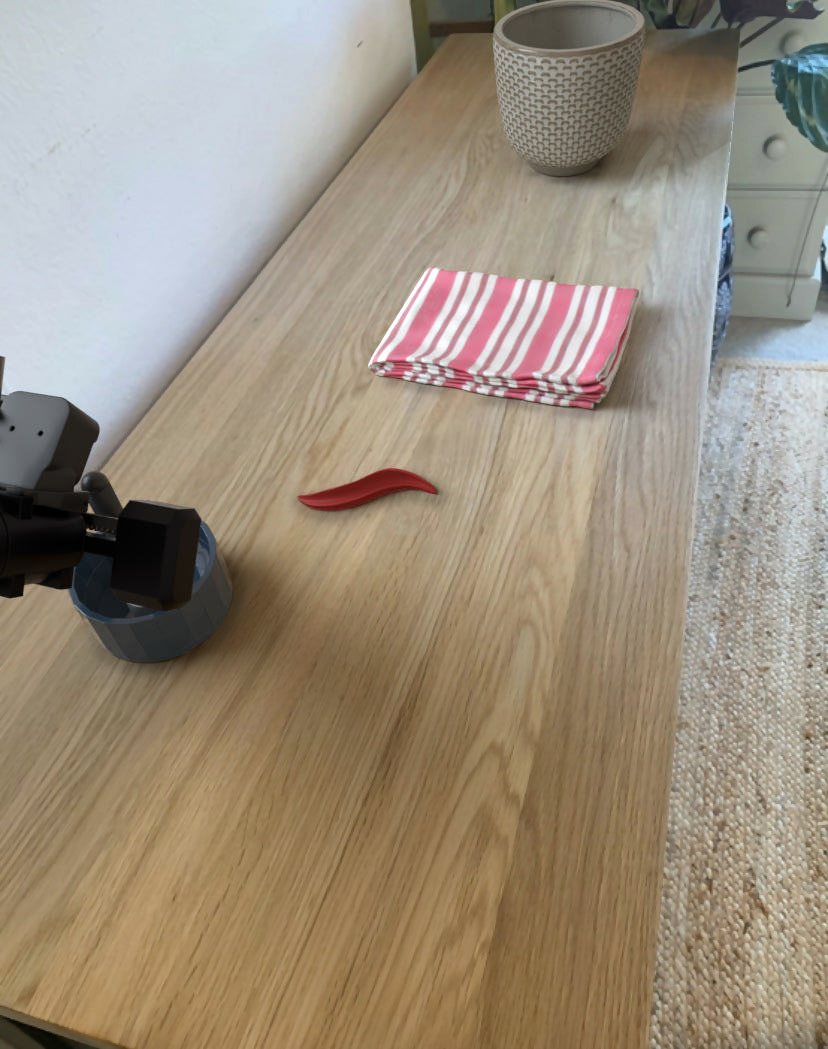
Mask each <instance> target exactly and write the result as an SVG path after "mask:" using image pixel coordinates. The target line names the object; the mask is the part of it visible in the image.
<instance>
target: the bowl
mask: <svg viewBox="0 0 828 1049" xmlns="http://www.w3.org/2000/svg"><path fill="white" fill-rule="evenodd" d="M96 533H97V534H102V535H106V533H105V532H100V530H99V531H96ZM112 564H113V558H111V557H106V556H101V555H97V554H92V553H87V552H85V553H84V556H83V558H82V560H81V562H80V564H79V565H78V566H77V567H74V574H73V582H72V588H69V589H66V590H67V593H68V596H69V598H70V601H71V603H72V605H73V606H74V608H75V610H76V611H77V613H78V614H79V615H80V617H81V619H82V620H83V622H84V624H85V625H86V627H87V628H88V630H89V631H90V633H91V634H92V636H93V638H94V639H95V640H96V641H97V642H98V643H99V645H100V646H101V647H102V648H103V649H104V651H106V652H107V653H109V654H111V655H112V656H113V657H116V658H118V659H120V660H123V661H127V662H131V663H138V664H150V663H151V664H152V663H158V662H162V661H167V660H171V659H174V658H177V657H179V656H182V655H184V654H187V653H188V652H190V651H192V650H194V649H195V648H197V647H198V646H200V645H201V644H202V643H204V642H205V641H206V640H208V639H209V638H210V637H211V636H212V635H213V634H214V633H215V632H216V630H218V628H219V627H220V626H221V625H222V623H223V622H224V621H225V619H226V617H227V614H228V613H229V610H230V608H231V605H232V600H233V592H234V589H233V588H234V587H233V581H232V578H231V573H230V570H229V567H228V565H227V563H226V561H225V559H224V556H223V554H222V551H221V549H220V546H219V544H218V542H217V539H216V537H215V536H214V534H213V532H212V530H211V528H210V526H209V525H208V524H207V523H206V521H203V520H202V519H201V527H200V534H199V542H198V550H197V557H196V565H195V573H194V580H193V588H192V596H191V601H189V602H188V603H187V604H186V605H184V606H183V607H182V608H178V609H174V610H170V611H166V612H164V611H158V612H155V613H153V614H149V615H145V616H141V617H136V618H135V617H134V616H133V614H132V612H131V610H130V609H129V607H128V605H127V604H126V603H125V602H120V601H117V599H116V598H115V596H114V594H113V593H112V591H111V589H110V581H111V573H112Z"/></svg>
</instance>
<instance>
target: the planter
mask: <svg viewBox="0 0 828 1049" xmlns="http://www.w3.org/2000/svg"><path fill="white" fill-rule="evenodd" d="M492 33H493V34H492V47H493V48H492V49H493V52H492V53H493V63H494V72H495V73H494V74H495V86H496V95H497V102H498V103H497V104H498V110H499V117H500V122H501V127H502V131H503V134H504V137H505V139H506V142H507V144H508V145H509V147H510V148H511V149H512V150H513V151H514V152H515V154H517V155H518V156H519V157H521V158H522V159H523V160H526V161H527V162H528V164H529V166H530V167H531V168H532V169H533V170H535V171H536V172H537V173H539V174H542V175H546V176H550V177H571V176H576V175H580V174H583V173H586V172H588V171H590V170H592V169H593V168H594V167H595V166H596V165H597V164H598V162H600V159H601V158H603V157H604V156H606V155H608V154H609V153H610V152H612V151H613V150H614V149H615V148H616V147H617V146H618V145H619V144H620V142H621V141H622V139H623V138H624V136H625V133H626V131H627V128H628V125H629V123H630V120H631V116H632V112H633V107H634V103H635V97H636V94H637V89H638V83H639V78H640V72H641V66H642V59H643V52H644V45H645V39H646V37H645V36H646V19H645V17H644V15H643V14H642V13H641V12H640V11H639V10H638V9H636V8H635V7H634V6H631V5H629V4H626V3H623V2H620V1H615V0H545V1H542V2H536V3H532V4H529V5H526V6H523V7H520V8H517V9H515V10H513V11H510V12H509V13H507V14H506V15H503V17H502V18H500V19H499V20H498V21H497V22H496V24H494V28H493V32H492Z"/></svg>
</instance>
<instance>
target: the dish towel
mask: <svg viewBox="0 0 828 1049" xmlns="http://www.w3.org/2000/svg"><path fill="white" fill-rule="evenodd" d="M639 296H640V290H639V289H638V288H622V287H619V286H614V285H610V286H609V285H601V284H598V285H597V284H595V285H589V284H588V285H587V284H567V283H560V282H557V281H553V280H551V281H550V280H549V281H548V280H544V279H534V278H532V279H528V278H512V277H506V276H500V275H499V274H498V275H497V274H492V273H484V272H479V271H465V270H464V271H463V270H446V269H442V268H441V267H439V266H430V267H429V268H428V269H426V270H425V272H424V273H423V275H422V276H421V278H420V279H419V281H418V282H417V283H416V285H415V287H414V289H413V290H412V292H410V295H409V297H408V298H407V299H406V301H405V303H404V305H403V306H402V308H401V309H400V311H399V312H398V314H397V315H396V317H395V319H394V321H393V322H392V324H391V325H390V327H389V328H388V330H386V332H385V334H384V336H383V338H382V340H381V342H380V343H379V345H378V346H377V348H376V349H375V351H374V353H373V354H372V357H371V358H370V361H369V362H368V365H367V367H368V369H369V370H370V371H371V372H372V373H373V374H374V375H376V376H380V377H389V378H397V379H401V380H405V381H409V382H415V383H419V384H424V385H434V386H440V387H449V388H457V389H459V390H463V391H466V392H473V393H478V394H480V395H486V396H495V397H499V398H513V399H518V400H524V401H527V402H532V403H540V404H545V405H551V406H560V407H578V408H582V409H586V410H588V409H589V410H593V409H594V408H595V404H600V403H601V402H602V400H603V399H604V398H606V397H607V395H608V393H609V392H610V389H611V386H612V384H613V381H614V378H615V377H616V375H617V372H618V370H619V367H620V365H621V361H622V357H623V354H624V351H625V348H626V345H627V343H628V340H629V338H630V337H629V336H630V334H631V330H632V326H633V321H634V317H635V314H636V308H637V303H638V299H639Z"/></svg>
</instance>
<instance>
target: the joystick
mask: <svg viewBox="0 0 828 1049" xmlns="http://www.w3.org/2000/svg"><path fill="white" fill-rule="evenodd" d="M79 485H80V490H82V491H87V492H90V495H89V504H88V505H89V506H90V508H91V510H92V512H93V514H98V515H103V516H108V517H113V518H118V515H119V514H120V513H121V511H122V510H123V508H124V507H123V505H122V503H121V501H120V499H119V497H118V495H117V493H116V491H115V490H114V488H113V486H112V483H111V482H110V479H109V478H108V476H107V475H106V474H104V473H103V472H101V471H97V470H92V471H88V472H87V473H85V474H84V475H82V477H81V479H80V482H79ZM106 535H107V536H112V537H116V534H115V535H111V532H110V533H108V534H106ZM126 604H127V605H128V607H129V609H130V610H131V612H132V614H133V616H134V617H135V618H136V617H141V616H145V615H149V614H153V613H155V612H158V611H160V610H156V609H151V608H147V607H142V606H138V605H134V604H129V603H126Z"/></svg>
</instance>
